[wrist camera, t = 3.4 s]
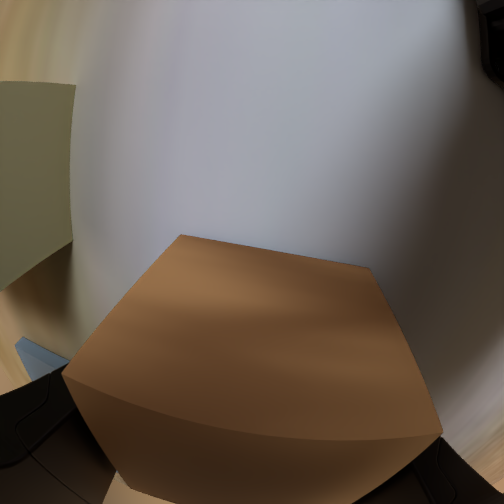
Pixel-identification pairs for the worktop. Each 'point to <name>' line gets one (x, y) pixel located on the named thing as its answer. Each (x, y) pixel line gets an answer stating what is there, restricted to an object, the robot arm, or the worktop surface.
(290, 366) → the walnut cube
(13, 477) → the robot arm
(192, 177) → the worktop surface
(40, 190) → the sage cube
